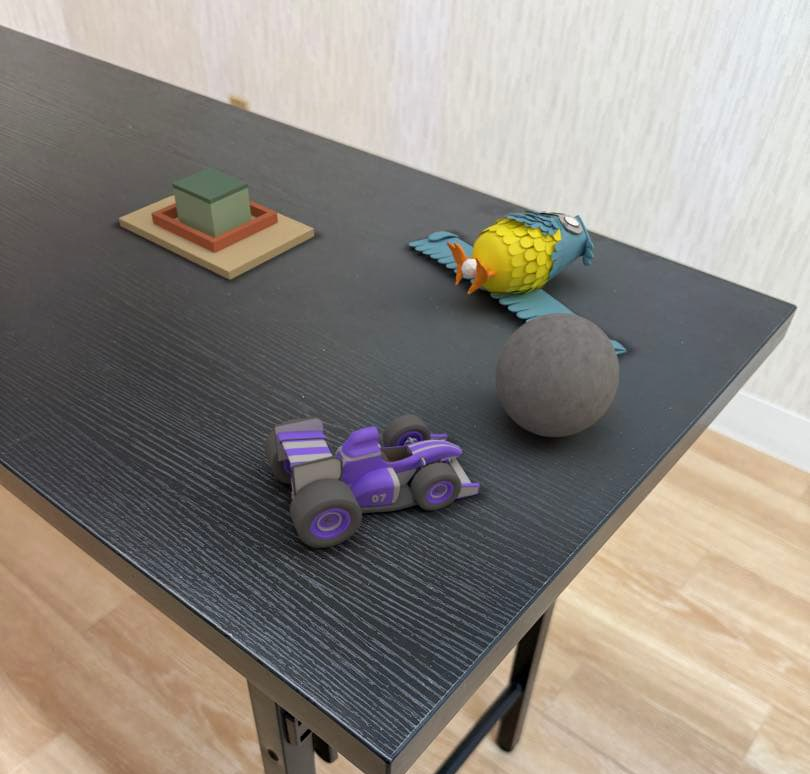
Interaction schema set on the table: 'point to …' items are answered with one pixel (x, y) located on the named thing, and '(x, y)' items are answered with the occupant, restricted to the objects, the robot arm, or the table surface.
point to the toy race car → (362, 474)
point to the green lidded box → (212, 202)
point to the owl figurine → (516, 259)
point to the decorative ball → (557, 375)
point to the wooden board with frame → (219, 237)
